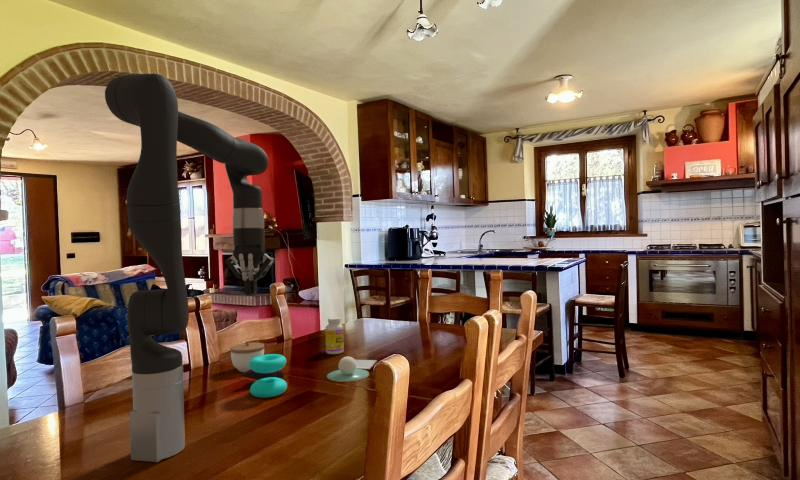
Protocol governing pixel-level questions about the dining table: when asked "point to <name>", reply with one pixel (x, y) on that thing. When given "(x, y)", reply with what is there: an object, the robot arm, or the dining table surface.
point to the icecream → (262, 374)
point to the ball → (347, 365)
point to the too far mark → (364, 364)
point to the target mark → (348, 376)
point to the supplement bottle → (334, 336)
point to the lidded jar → (245, 354)
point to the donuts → (271, 384)
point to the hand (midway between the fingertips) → (250, 295)
